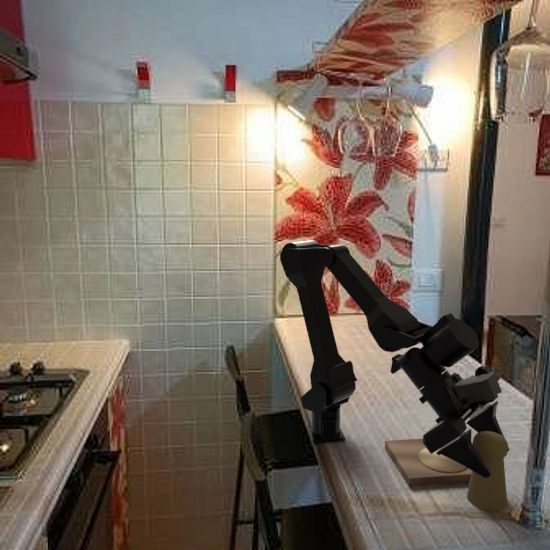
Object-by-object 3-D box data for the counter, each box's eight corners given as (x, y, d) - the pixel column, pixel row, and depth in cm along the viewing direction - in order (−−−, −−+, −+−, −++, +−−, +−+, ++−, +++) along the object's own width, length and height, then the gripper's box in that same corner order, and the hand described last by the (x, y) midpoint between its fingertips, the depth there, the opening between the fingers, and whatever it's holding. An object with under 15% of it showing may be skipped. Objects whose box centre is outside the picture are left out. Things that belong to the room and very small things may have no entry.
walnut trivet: (384, 448, 102) (385, 439, 102) (455, 443, 104) (456, 434, 103) (408, 486, 90) (409, 476, 89) (489, 480, 91) (489, 470, 91)
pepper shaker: (497, 488, 89) (501, 425, 87) (514, 510, 83) (519, 444, 81) (460, 489, 89) (464, 426, 87) (475, 511, 83) (479, 445, 81)
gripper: (446, 370, 77) (523, 467, 72) (488, 339, 91) (555, 418, 86) (394, 408, 83) (461, 499, 78) (441, 373, 98) (501, 448, 93)
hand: (498, 463), depth 84 cm, fingers open, 9 cm apart
